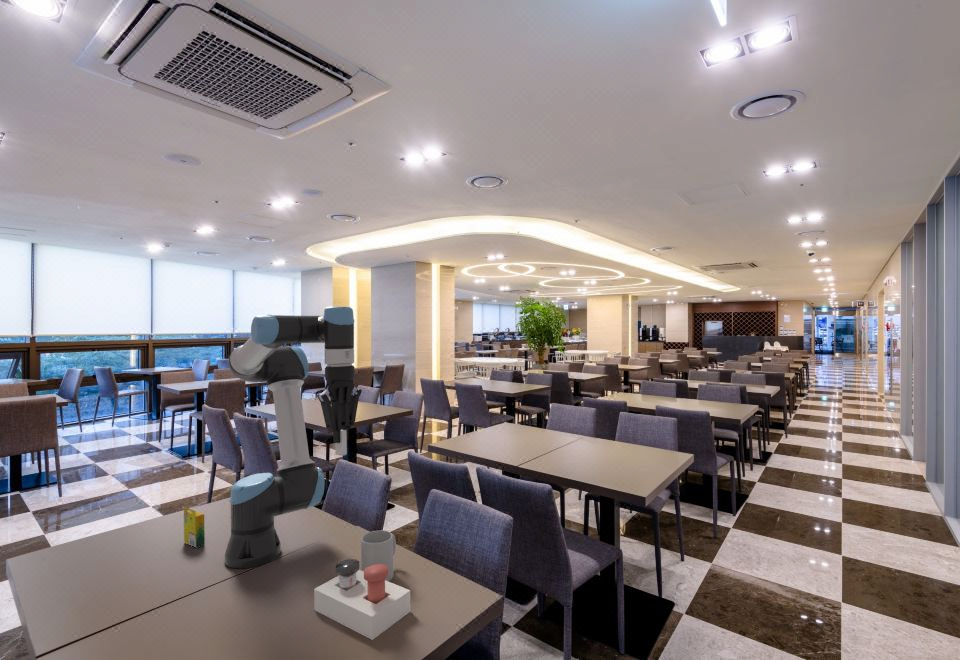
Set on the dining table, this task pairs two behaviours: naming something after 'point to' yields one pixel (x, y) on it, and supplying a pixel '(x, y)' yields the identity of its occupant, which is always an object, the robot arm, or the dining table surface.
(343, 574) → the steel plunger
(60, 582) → the dining table surface
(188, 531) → the crayon box
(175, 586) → the dining table surface
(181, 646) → the dining table surface
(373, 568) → the red plunger
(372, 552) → the mug
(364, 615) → the white socket block
